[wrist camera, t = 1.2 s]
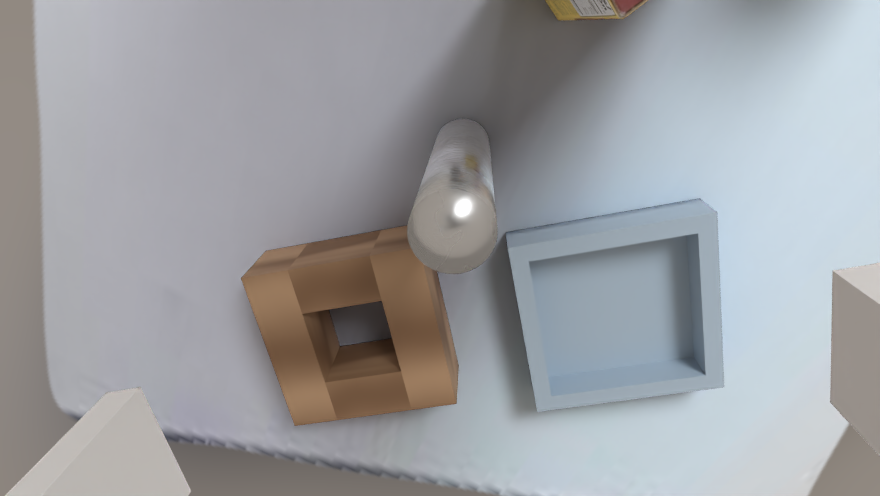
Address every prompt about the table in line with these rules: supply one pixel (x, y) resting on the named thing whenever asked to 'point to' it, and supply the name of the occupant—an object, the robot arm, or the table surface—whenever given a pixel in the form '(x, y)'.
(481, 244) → the cylinder
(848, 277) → the robot arm
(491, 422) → the table surface
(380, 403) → the bore block
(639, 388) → the tray
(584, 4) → the candy box
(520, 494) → the table surface
